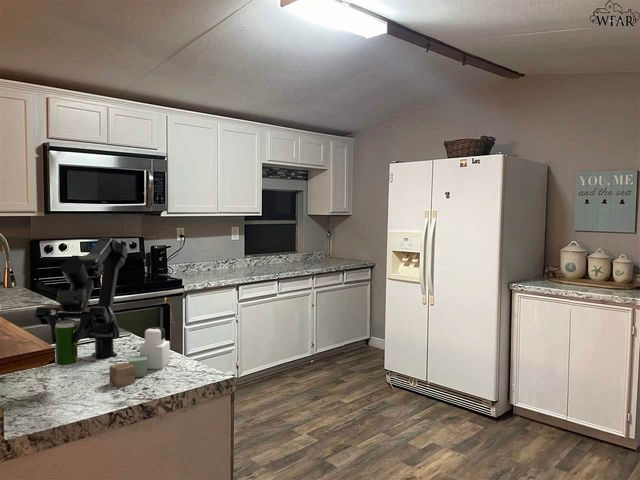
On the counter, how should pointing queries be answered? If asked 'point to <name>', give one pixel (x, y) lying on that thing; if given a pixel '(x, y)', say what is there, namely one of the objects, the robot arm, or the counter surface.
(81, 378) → the counter surface
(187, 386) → the counter surface
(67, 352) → the beer can
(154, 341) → the medicine bottle
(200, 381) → the counter surface
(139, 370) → the sage block
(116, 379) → the walnut block
